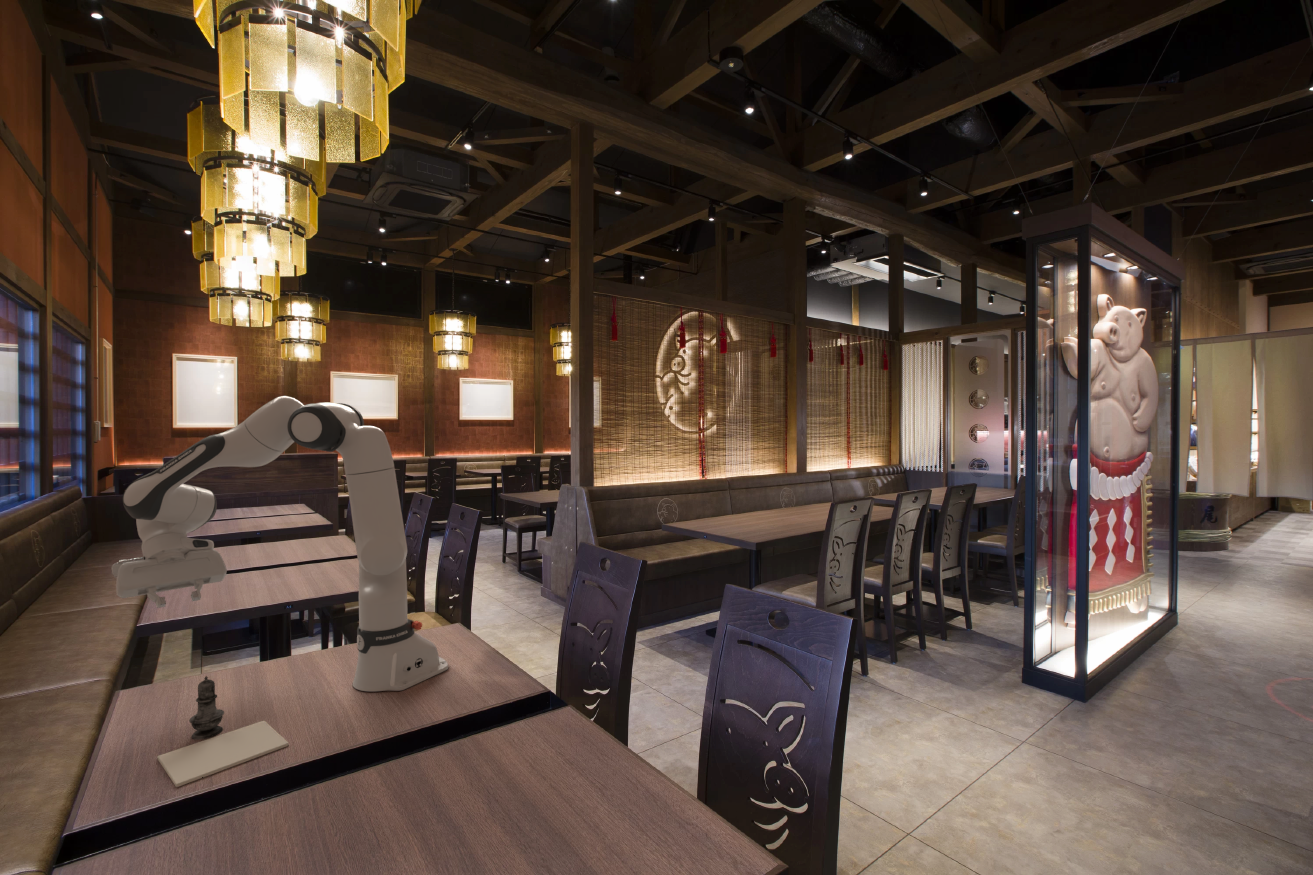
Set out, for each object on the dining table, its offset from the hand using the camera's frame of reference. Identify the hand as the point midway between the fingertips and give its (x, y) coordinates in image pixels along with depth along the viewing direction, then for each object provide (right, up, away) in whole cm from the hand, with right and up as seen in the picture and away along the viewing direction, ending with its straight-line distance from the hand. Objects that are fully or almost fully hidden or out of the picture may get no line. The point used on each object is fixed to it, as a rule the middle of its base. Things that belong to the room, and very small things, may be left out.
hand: (179, 602), depth 139 cm
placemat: (+24, -24, -20) cm, 40 cm away
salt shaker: (+16, -24, -12) cm, 31 cm away
